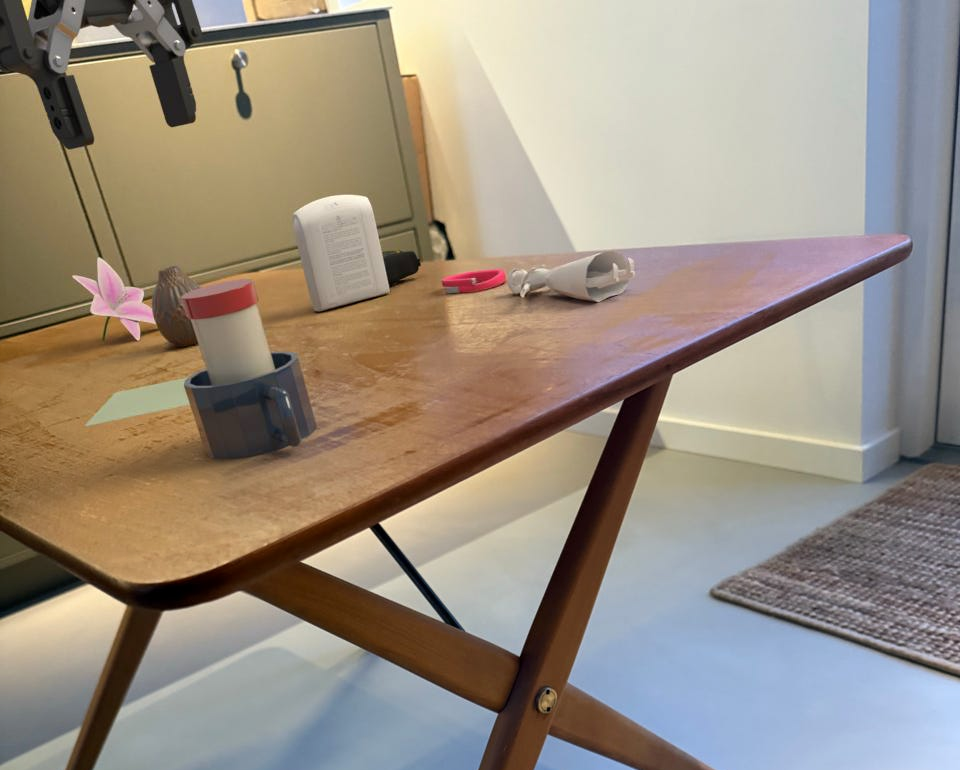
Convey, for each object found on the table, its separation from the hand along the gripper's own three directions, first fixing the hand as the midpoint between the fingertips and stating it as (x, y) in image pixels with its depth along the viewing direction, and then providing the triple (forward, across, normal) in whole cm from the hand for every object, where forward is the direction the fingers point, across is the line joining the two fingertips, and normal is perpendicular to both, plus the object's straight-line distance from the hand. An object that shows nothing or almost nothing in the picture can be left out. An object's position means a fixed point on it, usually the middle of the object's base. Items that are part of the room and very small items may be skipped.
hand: (133, 135), depth 65 cm
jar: (+22, -6, -3) cm, 23 cm away
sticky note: (+23, -16, -25) cm, 38 cm away
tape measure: (+23, -62, -31) cm, 73 cm away
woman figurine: (+23, -48, +2) cm, 54 cm away
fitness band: (+23, -56, -15) cm, 62 cm away
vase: (+23, -37, -44) cm, 62 cm away
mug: (+23, -5, -1) cm, 23 cm away
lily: (+23, -41, -61) cm, 77 cm away
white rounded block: (+23, -53, -31) cm, 65 cm away
